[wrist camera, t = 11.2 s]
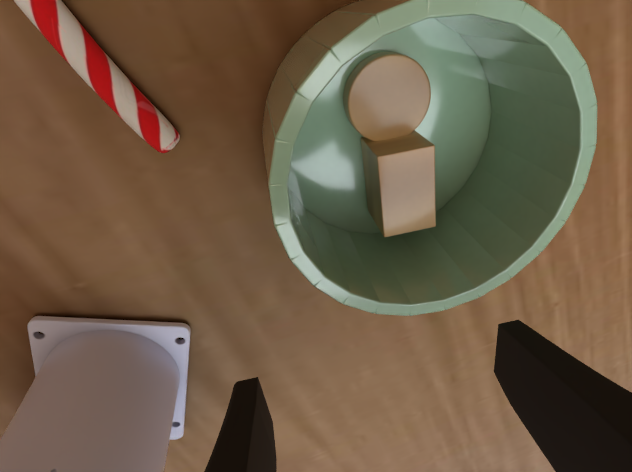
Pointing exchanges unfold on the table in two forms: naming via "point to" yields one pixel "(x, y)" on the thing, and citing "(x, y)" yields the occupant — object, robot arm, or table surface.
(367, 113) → the wooden block with disc
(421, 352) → the table surface
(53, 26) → the candy cane
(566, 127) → the green round bowl
